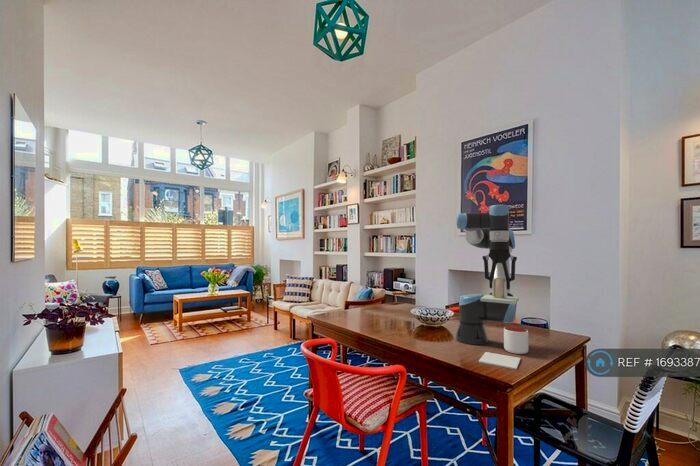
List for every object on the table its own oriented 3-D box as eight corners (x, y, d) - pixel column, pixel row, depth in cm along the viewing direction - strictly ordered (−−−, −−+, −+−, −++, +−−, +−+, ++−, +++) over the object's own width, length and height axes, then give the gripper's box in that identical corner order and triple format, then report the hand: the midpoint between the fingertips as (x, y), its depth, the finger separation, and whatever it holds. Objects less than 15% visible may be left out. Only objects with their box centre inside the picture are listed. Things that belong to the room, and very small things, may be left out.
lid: (480, 301, 135) (480, 278, 135) (486, 297, 146) (486, 276, 146) (515, 304, 128) (515, 280, 128) (518, 299, 139) (518, 278, 139)
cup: (499, 348, 153) (499, 326, 154) (519, 347, 154) (519, 326, 155) (511, 355, 143) (511, 332, 144) (533, 354, 144) (533, 332, 145)
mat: (478, 362, 134) (478, 360, 134) (485, 353, 146) (485, 351, 146) (516, 369, 126) (516, 368, 126) (520, 359, 138) (520, 358, 138)
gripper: (476, 241, 140) (476, 295, 139) (520, 241, 130) (521, 299, 129) (480, 241, 146) (480, 293, 145) (522, 241, 137) (523, 297, 136)
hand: (499, 296), depth 137 cm, fingers closed on lid, 4 cm apart
